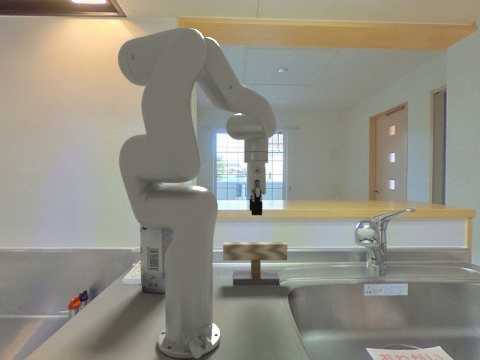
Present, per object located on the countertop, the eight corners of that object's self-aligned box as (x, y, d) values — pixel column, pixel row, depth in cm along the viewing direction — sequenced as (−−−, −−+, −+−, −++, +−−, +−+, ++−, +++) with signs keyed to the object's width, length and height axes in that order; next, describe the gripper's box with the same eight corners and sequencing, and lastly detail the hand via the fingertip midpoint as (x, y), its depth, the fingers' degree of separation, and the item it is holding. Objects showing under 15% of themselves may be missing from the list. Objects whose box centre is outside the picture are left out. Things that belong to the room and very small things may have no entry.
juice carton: (179, 280, 92) (179, 194, 91) (168, 295, 82) (167, 197, 81) (152, 279, 93) (151, 194, 92) (137, 293, 83) (136, 197, 82)
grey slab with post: (279, 283, 90) (279, 262, 90) (233, 284, 90) (233, 262, 89) (275, 274, 98) (275, 254, 98) (233, 274, 98) (233, 255, 97)
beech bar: (285, 257, 95) (285, 241, 95) (287, 260, 92) (287, 244, 92) (223, 257, 95) (223, 242, 95) (223, 260, 92) (223, 244, 92)
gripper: (271, 157, 84) (271, 217, 84) (265, 159, 101) (264, 209, 102) (245, 156, 84) (244, 217, 84) (243, 159, 101) (242, 209, 101)
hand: (255, 212), depth 93 cm, fingers open, 9 cm apart
